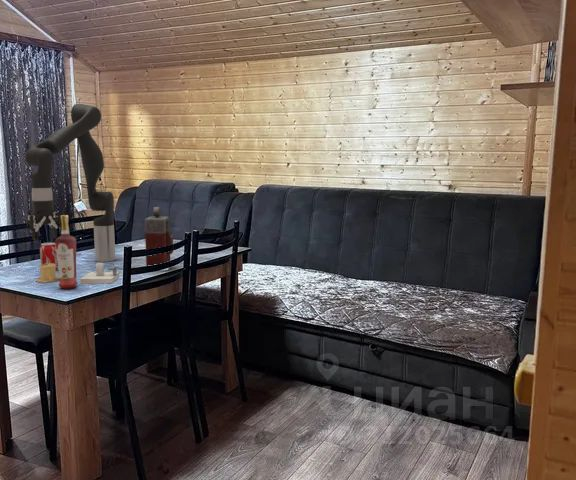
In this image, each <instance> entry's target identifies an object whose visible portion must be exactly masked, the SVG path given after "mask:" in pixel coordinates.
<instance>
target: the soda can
mask: <svg viewBox="0 0 576 480" xmlns="http://www.w3.org/2000/svg"><path fill="white" fill-rule="evenodd" d="M39 257H40V260H39V261H40V265H41V264H48V263H53V264H56V267H55V269H56V271H57V270H59V269H58V260H57V253H56V243H55V242H43V243H41V244H40V247H39Z"/></svg>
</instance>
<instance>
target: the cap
mask: <svg viewBox="0 0 576 480" xmlns="http://www.w3.org/2000/svg"><path fill="white" fill-rule="evenodd" d="M55 267H56V264H53V263H48V264H41V263H40V264H39V268H40V269H39V270H40V277H41V280H49V281H53V279H56V276H57V272H56V271H57V270H56V269H55Z"/></svg>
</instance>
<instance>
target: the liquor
mask: <svg viewBox="0 0 576 480" xmlns="http://www.w3.org/2000/svg"><path fill="white" fill-rule="evenodd" d="M60 218H61V229H60V230H61V233H60V236H57V238H55V239H54V241H55V242H54V243H56V244H55V245H56V253H57V260H58V269H57V270H58V277H59V284H58V287H60V288H61V289H62V290H71V289H74V288H75V287H76V286H78V285H79V283H78V280H77V238H75V237H74V236H73V235H71V234H70V227H69V215H68V214H62V215H61V214H60Z"/></svg>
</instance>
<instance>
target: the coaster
mask: <svg viewBox="0 0 576 480" xmlns="http://www.w3.org/2000/svg"><path fill="white" fill-rule="evenodd" d="M35 280H36V281H35V282H37V283H45V284H46V283H48V284H49V283H53V282H54V283H55V282H58V281H59V282H60V280H59V275H58V276H57V275H56V279H53V281H49V280H41V276H40V277H38V278H36V279H35Z"/></svg>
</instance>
